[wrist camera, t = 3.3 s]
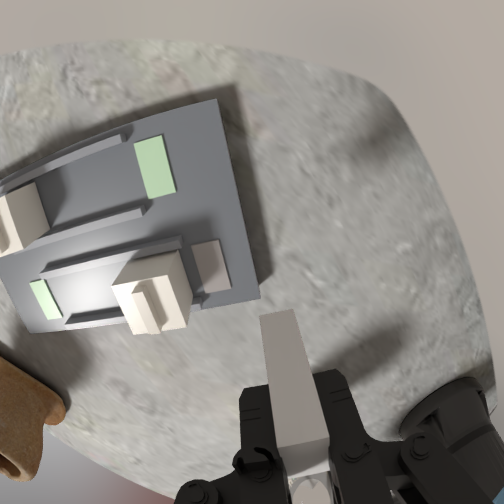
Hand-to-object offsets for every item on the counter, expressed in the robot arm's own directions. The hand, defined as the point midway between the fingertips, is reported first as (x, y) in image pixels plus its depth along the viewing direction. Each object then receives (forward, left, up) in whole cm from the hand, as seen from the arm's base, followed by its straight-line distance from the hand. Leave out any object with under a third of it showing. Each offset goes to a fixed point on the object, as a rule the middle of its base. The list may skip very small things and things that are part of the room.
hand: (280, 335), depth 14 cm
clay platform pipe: (+35, +12, -12) cm, 39 cm away
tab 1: (+18, -8, -10) cm, 22 cm away
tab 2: (+8, 0, -10) cm, 12 cm away
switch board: (+13, -4, -12) cm, 18 cm away
